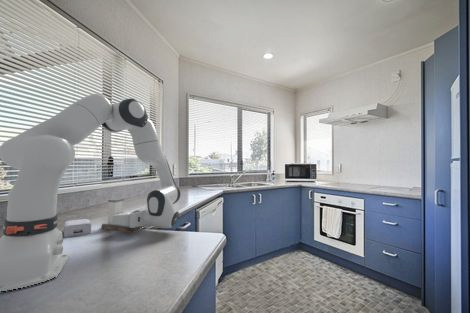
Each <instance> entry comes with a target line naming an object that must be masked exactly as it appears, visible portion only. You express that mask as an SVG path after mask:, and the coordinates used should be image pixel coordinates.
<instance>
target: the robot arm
mask: <svg viewBox="0 0 470 313" xmlns="http://www.w3.org/2000/svg"><path fill="white" fill-rule="evenodd" d="M101 126H102V127H103V128H104V129H105V130H107V131H109V132H113V133H119V132H122V131H127V132H128V133H129V134H130V135H131V139H132V144H133V149H134V152H135V155H136V157H137V159H138V160H139V161H141V162H142V163H144V164H147V165H150V166H152V167H153V168H154V169H155V170H156V172H157V176H158V178H159V181H160V186H161V187H159V188H157V189H154V190H151V191H150V192H149V193H148V194H147V197H146V205H147V206H143V205H142V206H139V207H136V208H134V209H131V210H126V211H125V210H124V211H121V212H118V213H117V214H116V215H114V216H113V223H114V224H116V225H122V226H129V227H130V228H135V227H139V226H144V227H148V228H149V227H154V228H159V229H170V228H173V227H175V226H176V224H177V222H178V221H179V217H180V213H179V211H178V210H177V208H175V206H174V204H176V203H177V202H179V200H180V198H181V190H180V188H179V186H178V185H177V183H176V181H175V179H174V175H173V174H172V171H171V168H170V165H169V163H168V160H167V158H166V157H167V156H166V155H165V154H164V151H163V149H162V146H161V143H160V137H159V135H158V132H157V128H156V127H155V125H154V122H153V121H152V120H150V119H149V116H148V113H147V110H146V107H145V106H144V105H143V102H141V101H140V100H138V99H136V98H126V99H123V100H121V101H119V102H117V103H112V102H111V101H110V100H109V99H108V98H107V97H106V96H104V95H102V94H99V93H92V94H89V95H87V96H85V97H82V98H81V99H78V100H77V101H74V102H73V103H71V104H70V105H69V106H67V107H66V108H64V109H63V110H61V111H60V112H58V113H57V114H55V115H53V116H52V117H50V118H48V119H46V120H44V121H42V122H40V123H38V124H36V125H35V126H32V127H30V128H28V129H27V130H24V131H23V132H21V133H19V134H18V135H16V136H13V137H12V138H10V139H7V140H6V141H4V142H3V143H2V144H1V145H0V160H1V161H2V162H3V163H4V164H5V165H7V166H9V167H11V168H12V169H14V170H17V171H18V170H19V171H18V174H17V176H16V180H15V181H14V185H13V186H12V187H11V189H9V191H8V193H7V196H8V197H7V210H6V219H4V221H3V222H4V223H3V225H2V234H3V235H2V236H1V237H0V291H6V292H8V291H7V290H12V291H14V290H13V289H16V290H19V289H18V288H21V289H24V288H23V287H25V288H28V287H27V286H29V287H31V286H30V285H33V286H35V285H34V284H37V283H40V282H43V281H46V280H48V279H52V278H54V277H56V276H58V277H59V275H60V274H59V273H61V271H63V268H64V267H65V265H66V263H67V261H68V259H69V258H70V256H69V255H70V254H69V253H65V252H63V250H64V246H63V243H64V239H63V232H62V231H61V230H59V229H58V228H57V226H58V222H59V221H58V220H59V219H58V214H57V206H58V193H59V188H60V185H61V182H62V180H63V177H64V174H65V172H66V170H67V169H68V167H70V166H71V165H72V164H73V162H74V160H75V157H76V151H75V148H74V146H75V145H78V144H80V143H82V142H84V141H85V140H86V139H87V138H88V137H89V136H90V135H92V133H94V132H95V131H96V130H98V129H99V128H100V127H101ZM58 274H59V275H58ZM56 278H57V277H56ZM54 279H55V278H54ZM52 280H53V279H52ZM40 284H41V283H40ZM37 285H38V284H37Z"/></svg>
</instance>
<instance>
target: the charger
mask: <svg viewBox="0 0 470 313" xmlns="http://www.w3.org/2000/svg"><path fill="white" fill-rule="evenodd" d="M91 233H92V223H91V221H90V220H89V218H88V219H87V218H83V219H72V220H67V221H65V222H64V223H63V236H64V237H65V238H68V237H75V236H76V237H77V236H82V235H88V234H91Z"/></svg>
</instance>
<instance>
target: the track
mask: <svg viewBox="0 0 470 313" xmlns="http://www.w3.org/2000/svg"><path fill="white" fill-rule="evenodd" d="M142 227H144V228H145V226H139V227H135V228H130V227H129V226H122V225H112V224H108V223H101V229H103V230H112V231H120V232H128V231H130V232H129V233H134V231H135V232H137V231H139V230H138V229H140V228H142ZM142 229H143V228H142ZM136 230H137V231H136ZM140 230H141V229H140Z"/></svg>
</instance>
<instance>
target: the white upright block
mask: <svg viewBox="0 0 470 313" xmlns="http://www.w3.org/2000/svg"><path fill="white" fill-rule="evenodd" d="M124 201H125V199H124V198H122V197H121V198H120V197H116V198H110V199H108V212H107V216H108V217H107V224H112V225H116V224H114V223H113V216H114V215H116V214H117V213H118V212H121V211H123V210H124V209H123V207H124V206H123V205H124ZM123 212H124V211H123Z"/></svg>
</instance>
